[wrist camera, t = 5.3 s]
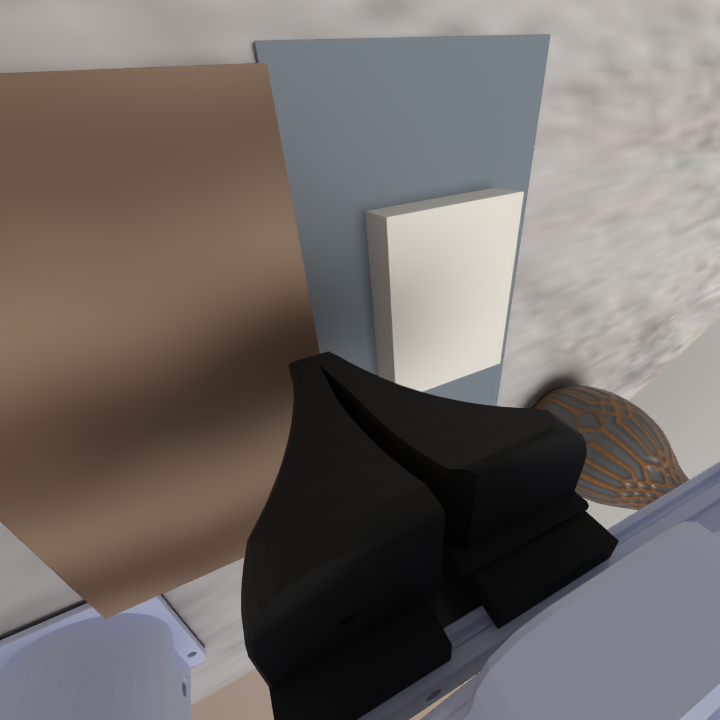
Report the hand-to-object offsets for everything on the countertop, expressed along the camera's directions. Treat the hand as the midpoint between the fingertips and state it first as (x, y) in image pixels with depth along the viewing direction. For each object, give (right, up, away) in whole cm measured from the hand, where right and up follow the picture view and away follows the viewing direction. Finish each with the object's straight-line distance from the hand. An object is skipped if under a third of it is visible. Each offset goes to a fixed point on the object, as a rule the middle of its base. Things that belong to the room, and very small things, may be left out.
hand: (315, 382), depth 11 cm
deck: (-6, +1, +2) cm, 6 cm away
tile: (+5, +3, +4) cm, 7 cm away
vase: (+15, -3, +15) cm, 22 cm away
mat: (+4, +4, +5) cm, 8 cm away
